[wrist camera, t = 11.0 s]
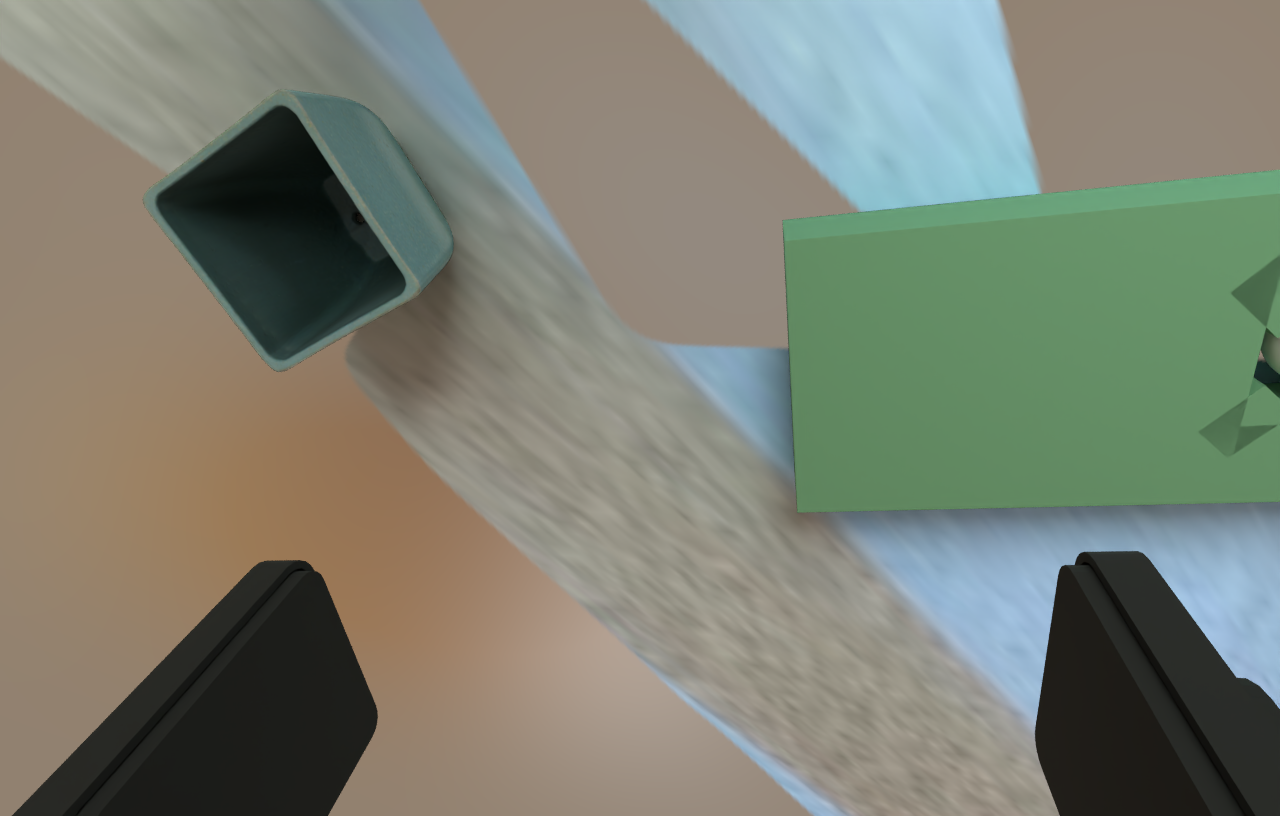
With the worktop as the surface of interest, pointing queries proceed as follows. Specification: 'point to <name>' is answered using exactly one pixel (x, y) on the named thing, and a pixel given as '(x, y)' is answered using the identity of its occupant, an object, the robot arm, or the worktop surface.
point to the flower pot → (303, 223)
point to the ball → (1271, 351)
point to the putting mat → (1038, 349)
